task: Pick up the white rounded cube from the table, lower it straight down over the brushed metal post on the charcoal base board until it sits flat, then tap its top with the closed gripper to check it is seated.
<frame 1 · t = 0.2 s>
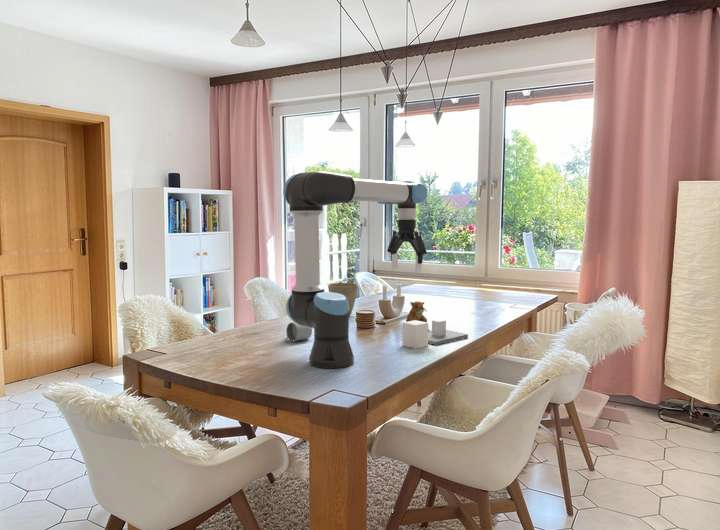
hand: (406, 270, 216), 27 cm above the table, tool pointing down, fingers open, 13 cm apart
white rounded cube: (415, 345, 201), on the table
ceramic mug: (297, 340, 211), on the table
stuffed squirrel: (415, 331, 228), on the table
post base: (438, 338, 213), on the table
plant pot: (342, 316, 262), on the table
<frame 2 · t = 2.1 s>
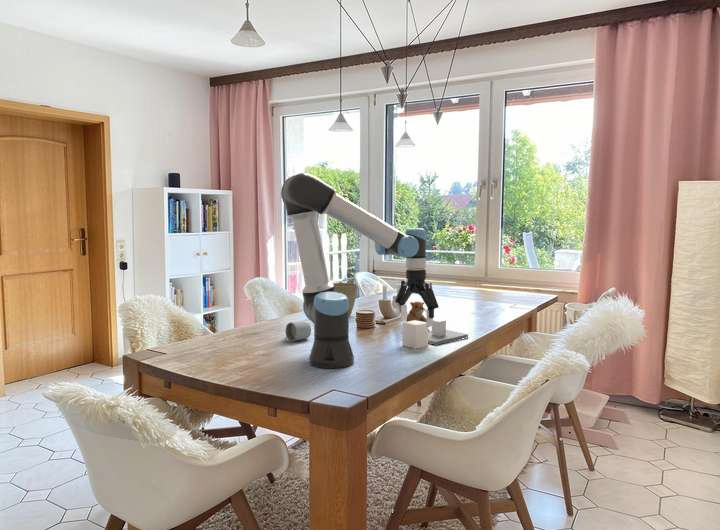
hand: (416, 323, 200), 8 cm above the table, tool pointing down, fingers open, 13 cm apart
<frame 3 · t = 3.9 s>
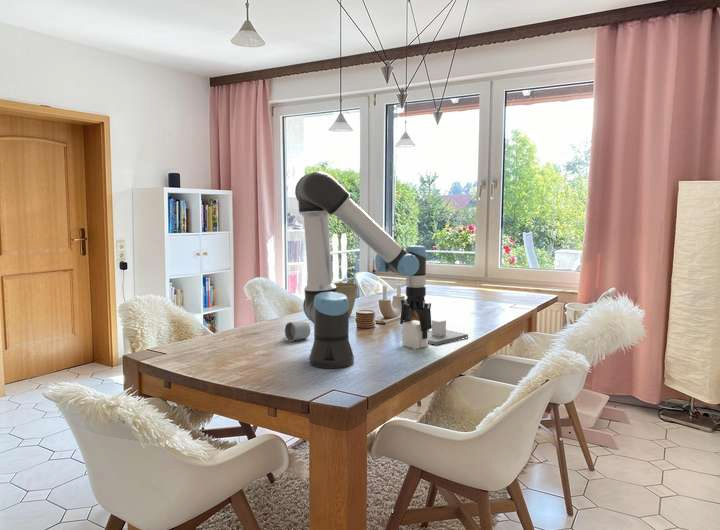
hand: (415, 344, 201), 0 cm above the table, tool pointing down, fingers closed on white rounded cube, 7 cm apart
white rounded cube: (415, 345, 201), on the table, touching gripper
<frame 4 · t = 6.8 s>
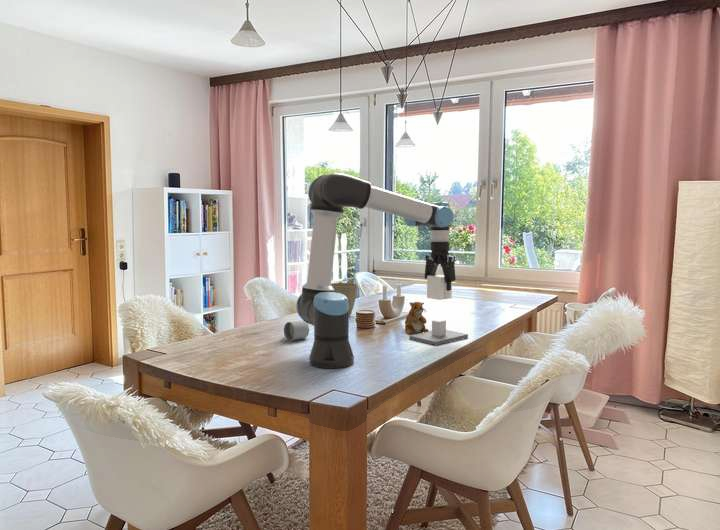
hand: (439, 297, 211), 17 cm above the table, tool pointing down, fingers closed on white rounded cube, 7 cm apart
white rounded cube: (439, 298, 211), point 17 cm above the table, touching gripper
when the fingers open (4 cm above the table, at t = 9.7 s): white rounded cube drops 2 cm, resting on post base.
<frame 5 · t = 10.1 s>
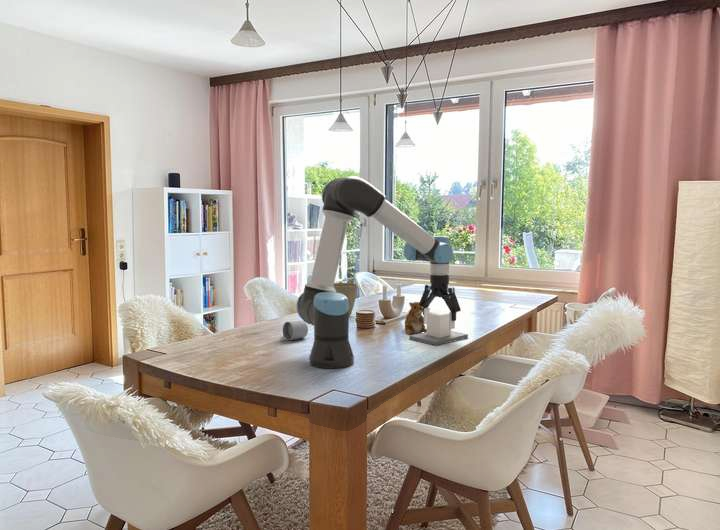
hand: (438, 326, 212), 5 cm above the table, tool pointing down, fingers open, 13 cm apart
white rounded cube: (438, 334, 213), point 1 cm above the table, touching post base
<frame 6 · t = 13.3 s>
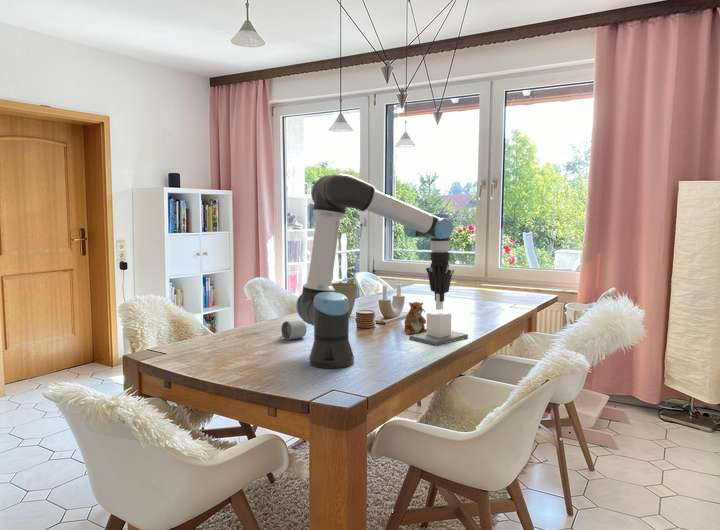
hand: (439, 309, 212), 12 cm above the table, tool pointing down, fingers closed
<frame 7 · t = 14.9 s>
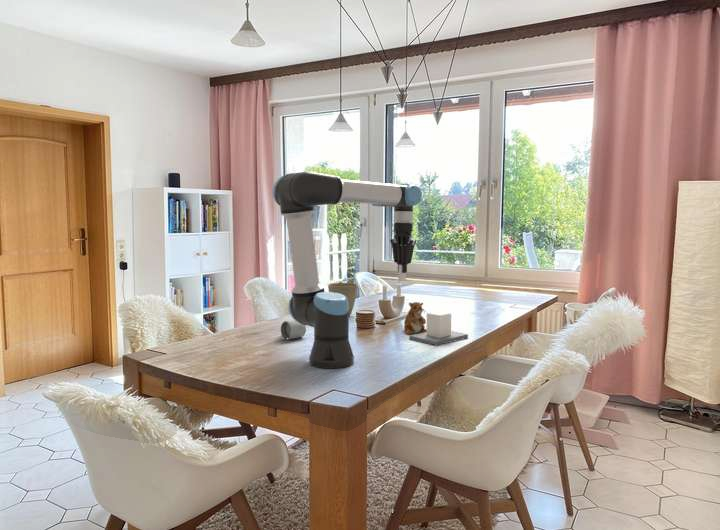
hand: (402, 280, 211), 24 cm above the table, tool pointing down, fingers closed
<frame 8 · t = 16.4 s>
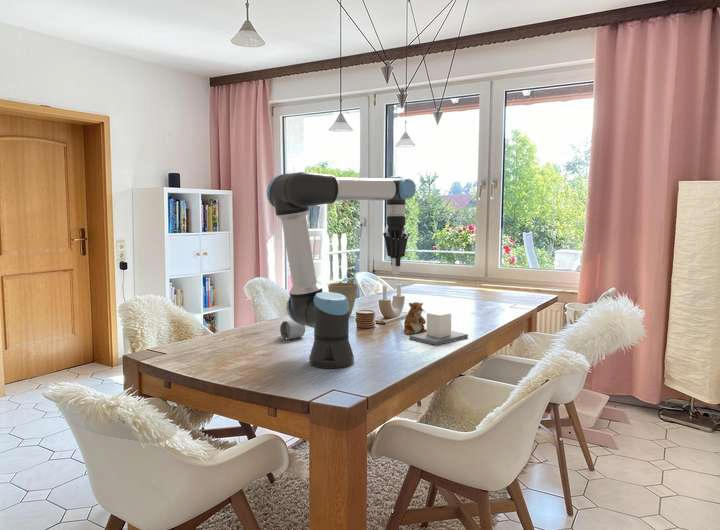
hand: (395, 274, 211), 26 cm above the table, tool pointing down, fingers closed
at the end: white rounded cube 0.1 cm off-centre on the post base, point 1.5 cm above the post base's base; white rounded cube tilted 0°; the gripper is holding nothing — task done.
